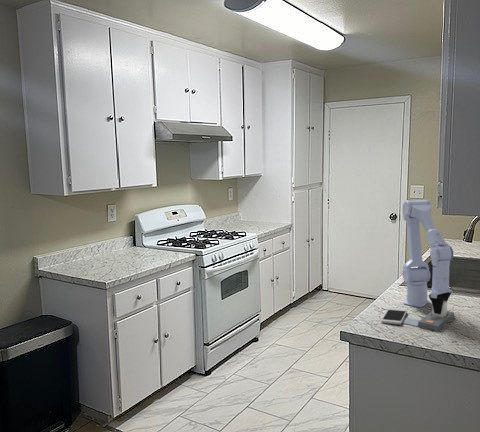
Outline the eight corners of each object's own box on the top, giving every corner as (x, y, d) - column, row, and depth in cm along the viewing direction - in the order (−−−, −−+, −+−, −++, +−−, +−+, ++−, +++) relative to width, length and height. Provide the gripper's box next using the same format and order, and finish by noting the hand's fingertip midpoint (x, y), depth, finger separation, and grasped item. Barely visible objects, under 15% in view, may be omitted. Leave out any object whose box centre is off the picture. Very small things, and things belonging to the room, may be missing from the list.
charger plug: (435, 316, 174) (436, 298, 173) (446, 318, 171) (447, 300, 170) (431, 319, 171) (432, 301, 170) (442, 321, 168) (443, 303, 167)
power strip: (435, 313, 178) (435, 307, 177) (453, 317, 173) (454, 311, 173) (418, 326, 164) (418, 320, 164) (437, 331, 160) (438, 325, 159)
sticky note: (406, 318, 173) (406, 317, 173) (423, 321, 169) (423, 321, 169) (400, 322, 169) (400, 322, 169) (417, 326, 164) (417, 326, 164)
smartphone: (407, 311, 179) (407, 309, 179) (400, 324, 165) (400, 322, 165) (388, 310, 182) (388, 307, 182) (381, 322, 169) (381, 320, 169)
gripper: (445, 283, 161) (444, 319, 162) (458, 274, 171) (456, 308, 173) (425, 279, 165) (424, 315, 167) (438, 271, 176) (437, 305, 178)
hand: (439, 311), depth 170 cm, fingers closed on charger plug, 4 cm apart
